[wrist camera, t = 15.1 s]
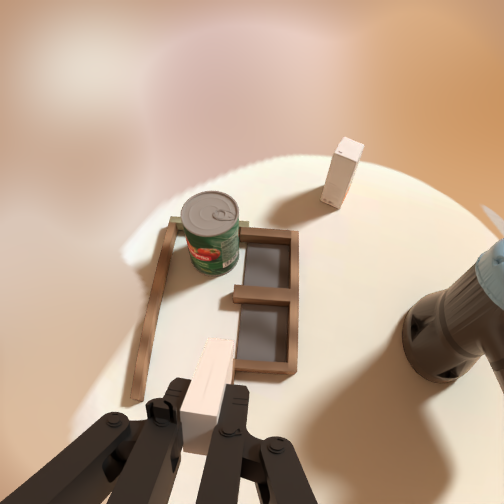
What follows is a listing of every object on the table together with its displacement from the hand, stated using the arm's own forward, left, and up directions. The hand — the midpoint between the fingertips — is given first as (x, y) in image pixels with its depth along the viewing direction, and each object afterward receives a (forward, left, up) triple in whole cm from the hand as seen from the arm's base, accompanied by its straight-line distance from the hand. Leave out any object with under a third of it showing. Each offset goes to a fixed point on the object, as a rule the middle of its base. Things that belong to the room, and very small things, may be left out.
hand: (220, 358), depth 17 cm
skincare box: (-35, -21, -25) cm, 48 cm away
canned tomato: (-9, -21, -25) cm, 34 cm away
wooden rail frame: (-5, -12, -25) cm, 28 cm away
